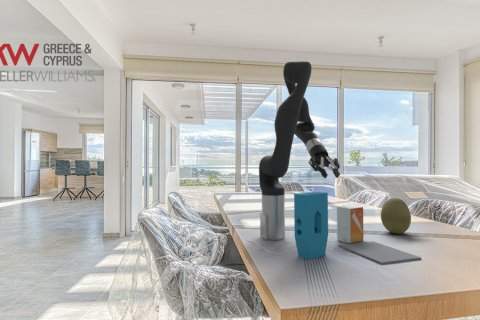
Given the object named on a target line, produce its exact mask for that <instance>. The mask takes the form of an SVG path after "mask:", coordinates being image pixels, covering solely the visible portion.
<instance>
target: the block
mask: <svg viewBox="0 0 480 320" xmlns="http://www.w3.org/2000/svg"><path fill="white" fill-rule="evenodd" d="M328 196H329V192H327V191H326V192H324V191H310V192H309V191H308V192H300V193H293V201H294V202H293V203H294V204H293V206H294V207H293V211H294V213H293V214H294V217H293V219H294V220H293V221H294V229H293V230H294V240H295V241H294V242H295V245H296V251H297V255H298V258H302V259H304V260H308V261H309V260H310V261H311V260H315V259H319V258H321V257H325V256H326V251H327V246H328V245H327V244H328V240H329V239H328V237H329V197H328Z"/></svg>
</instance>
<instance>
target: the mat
mask: <svg viewBox="0 0 480 320" xmlns="http://www.w3.org/2000/svg"><path fill="white" fill-rule="evenodd" d="M338 247H339V248H342V249H344V250H345V251H349V252H351V253H353V254H356V255H358V256H361V257H362V258H364V259H367V260H370V261H372V262H375V263H376V264H379V265H387V264H389V265H390V264H395V263H404V262H405V263H406V262H413V261H421V260H422V257H421V256H418V255H415V254H413V253H409V252H406V251H403V250H400V249H397V248H395V247H391V246H388V245H386V244H382V243H380V242H376V241H374V240H373V241H366V242H363V241H362V242H354V243H345V244H339V245H338Z"/></svg>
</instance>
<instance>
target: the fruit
mask: <svg viewBox="0 0 480 320" xmlns="http://www.w3.org/2000/svg"><path fill="white" fill-rule="evenodd" d="M380 219H381V223H382V226H383V227H384V228H385V229H386V230H387V232H389V233H392V234H398V235H400V234H404V233H405V232H407V231H408V230H409V228H410V226H411V222H412V215H411V211H410V208H409V206H408V204H407V203H406V202H405V200H403V199H401V198H398V197H394V198H393V197H392V198H389V199H387V200H386V201H385V202H384V204H383V205H382V207H381V210H380Z"/></svg>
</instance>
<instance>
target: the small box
mask: <svg viewBox="0 0 480 320" xmlns="http://www.w3.org/2000/svg"><path fill="white" fill-rule="evenodd" d="M336 240H337V241H340V242H342V243H346V244H354V243H360V242H363V241H364V207H363V206H358V205H351V204H349V205H348V204H347V205H342V206H337V207H336Z"/></svg>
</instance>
